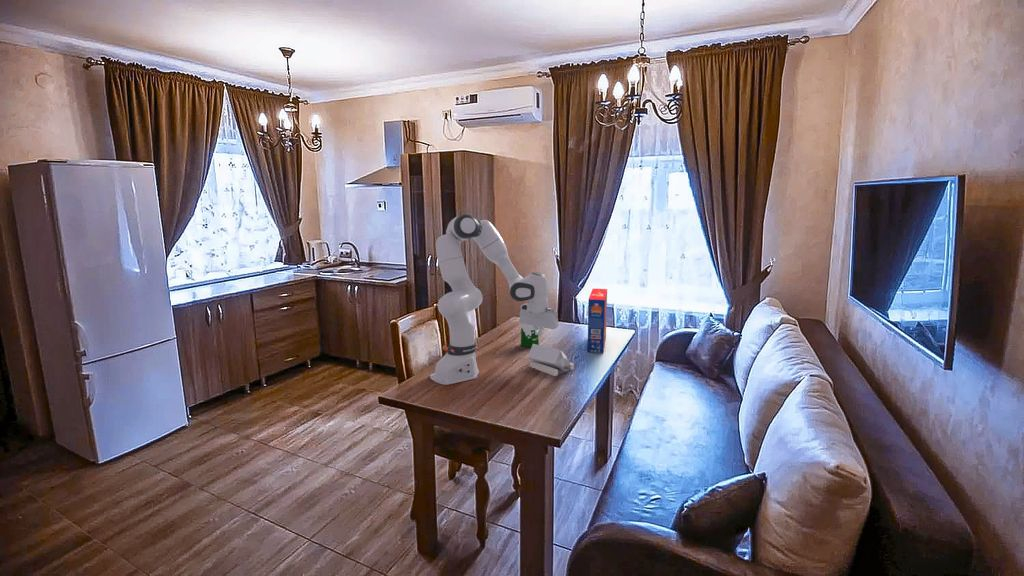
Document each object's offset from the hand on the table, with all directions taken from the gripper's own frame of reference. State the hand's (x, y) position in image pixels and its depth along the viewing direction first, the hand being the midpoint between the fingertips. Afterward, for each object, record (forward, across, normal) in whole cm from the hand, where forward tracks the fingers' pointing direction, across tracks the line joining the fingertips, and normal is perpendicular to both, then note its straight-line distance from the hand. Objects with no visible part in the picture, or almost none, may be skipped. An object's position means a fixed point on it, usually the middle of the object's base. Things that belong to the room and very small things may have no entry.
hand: (538, 335), depth 229 cm
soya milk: (+14, +19, -20) cm, 31 cm away
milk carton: (+9, +2, +3) cm, 9 cm away
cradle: (+14, -8, +2) cm, 17 cm away
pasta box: (+14, -9, -42) cm, 45 cm away
